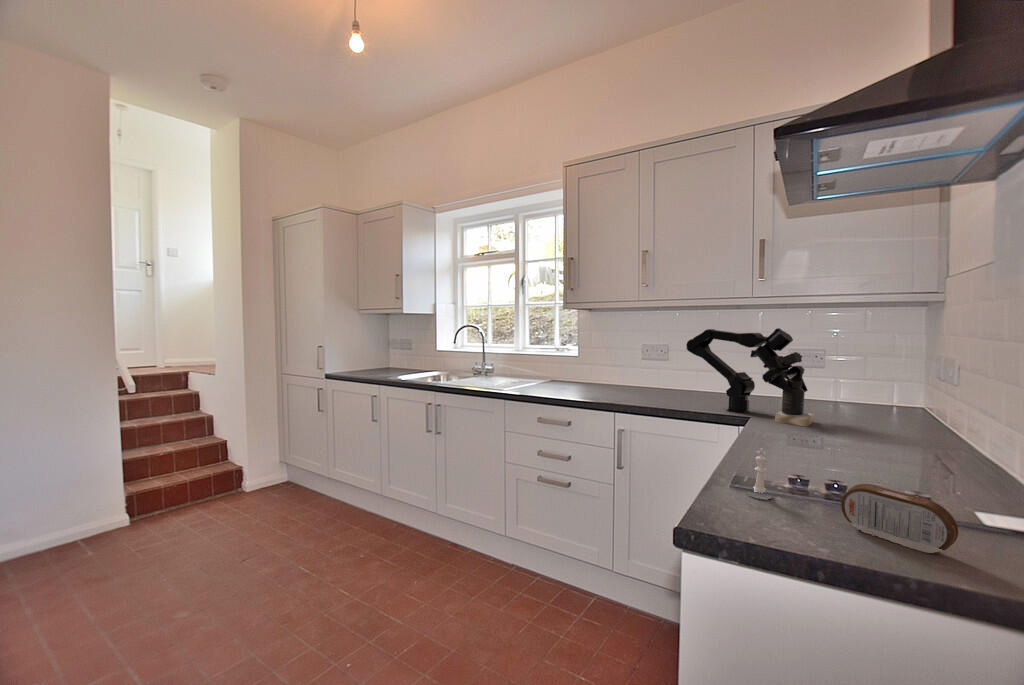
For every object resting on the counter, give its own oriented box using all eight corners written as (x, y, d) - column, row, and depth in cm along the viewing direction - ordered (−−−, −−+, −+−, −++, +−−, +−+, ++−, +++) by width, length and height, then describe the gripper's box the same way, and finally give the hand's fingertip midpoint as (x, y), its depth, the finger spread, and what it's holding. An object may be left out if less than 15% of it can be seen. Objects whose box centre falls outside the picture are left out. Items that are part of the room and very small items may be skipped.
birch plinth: (774, 421, 166) (775, 413, 166) (782, 417, 173) (782, 409, 173) (806, 426, 159) (807, 417, 159) (813, 422, 166) (813, 413, 166)
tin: (956, 558, 71) (960, 505, 71) (951, 564, 69) (955, 510, 69) (844, 522, 83) (846, 477, 83) (837, 526, 82) (839, 480, 81)
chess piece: (746, 489, 99) (748, 444, 98) (772, 494, 96) (774, 447, 96) (745, 497, 94) (747, 450, 94) (773, 502, 92) (775, 453, 92)
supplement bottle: (807, 416, 161) (808, 382, 160) (786, 415, 162) (787, 381, 162) (798, 412, 168) (800, 379, 167) (778, 411, 169) (779, 379, 168)
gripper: (772, 345, 163) (803, 379, 154) (800, 344, 172) (831, 377, 163) (750, 365, 170) (778, 399, 161) (778, 363, 180) (806, 395, 171)
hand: (799, 392), depth 164 cm, fingers open, 9 cm apart
